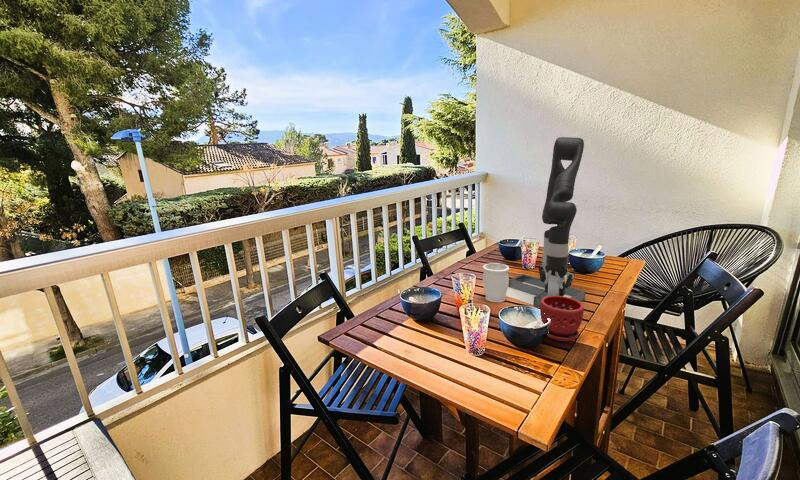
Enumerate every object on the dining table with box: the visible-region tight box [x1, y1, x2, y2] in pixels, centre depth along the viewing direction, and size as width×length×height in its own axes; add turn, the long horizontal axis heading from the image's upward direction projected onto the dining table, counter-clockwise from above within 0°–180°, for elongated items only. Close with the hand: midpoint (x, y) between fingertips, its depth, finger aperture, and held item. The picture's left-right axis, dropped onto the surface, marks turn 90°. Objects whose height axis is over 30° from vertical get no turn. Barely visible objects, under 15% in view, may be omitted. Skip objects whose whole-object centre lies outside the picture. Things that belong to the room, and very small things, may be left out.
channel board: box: [505, 282, 584, 308], centre depth 146 cm, size 20×29×1 cm
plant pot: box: [539, 296, 585, 342], centre depth 116 cm, size 13×13×12 cm
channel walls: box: [508, 273, 586, 310], centre depth 146 cm, size 20×29×4 cm
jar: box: [482, 262, 510, 303], centre depth 144 cm, size 11×10×15 cm
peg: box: [547, 275, 563, 303], centre depth 135 cm, size 5×5×12 cm
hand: (554, 294), depth 136 cm, fingers closed on peg, 5 cm apart
